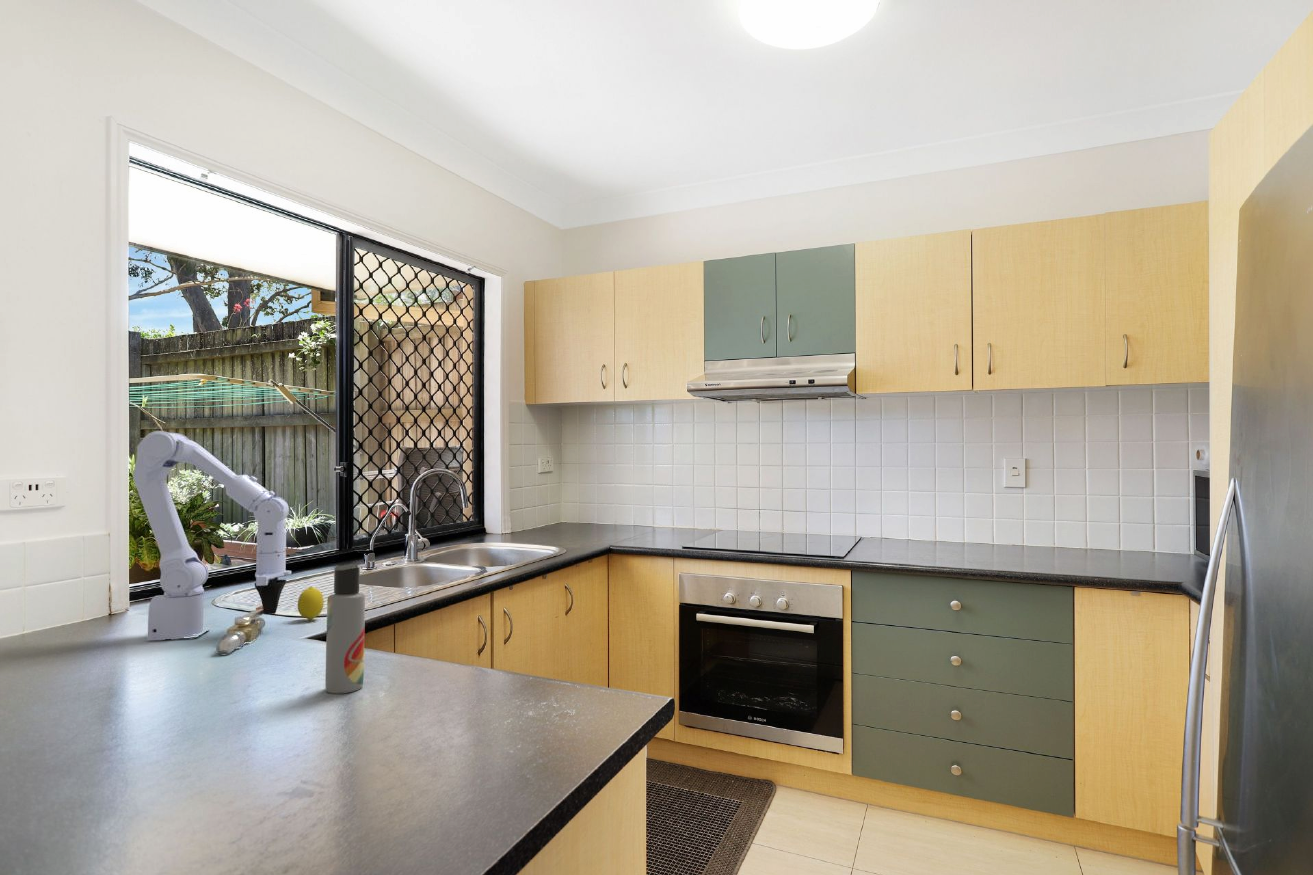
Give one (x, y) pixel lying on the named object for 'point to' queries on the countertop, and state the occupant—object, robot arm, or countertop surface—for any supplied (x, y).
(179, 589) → the robot arm
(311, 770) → the countertop surface
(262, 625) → the valve
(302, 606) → the lemon
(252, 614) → the lever
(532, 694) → the countertop surface
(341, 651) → the lotion bottle
